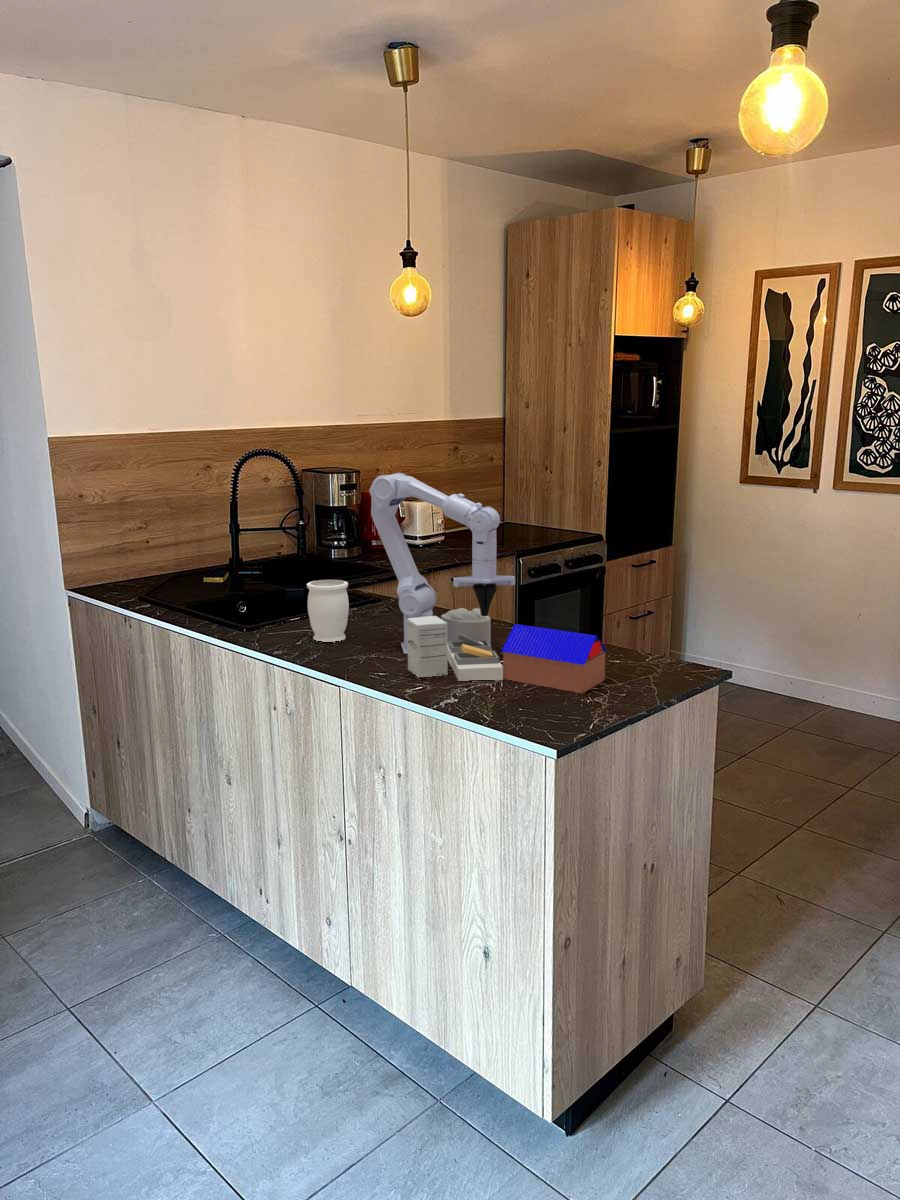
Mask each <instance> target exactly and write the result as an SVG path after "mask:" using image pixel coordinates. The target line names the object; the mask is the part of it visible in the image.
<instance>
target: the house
mask: <svg viewBox="0 0 900 1200" xmlns="http://www.w3.org/2000/svg"><path fill="white" fill-rule="evenodd" d="M501 652H502V653H503V659H502V660H503V662H502V663H503V664H502V666H503V680H505V679H506V680H505V681H510V680H512V681H511V682H516V681H517V682H516V683H521V682H522V684H527V683H529V684H528V685H532V684H533V685H534V686H538V687H543V686H544V688H549V687H551V689H554V688H555V689H556V690H561V691H566V692H571V693H577V694H585V693H586V692H588V691H589V690H592V688H594V687H596V686H597V685H599V684H601V683H603V682H604V681H605V680H606V679H605V678H606V674H605V673H606V653H607V652H608V650H607V649H606V647H605V646H604V644H603V643H602V641H601V639H600V638H599V637H598V636H597V634H596V635H594V634H588V633H579V632H573V631H567V630H561V629H552V628H546V627H545V628H544V627H541V626H540V627H538V626H531V625H526V624H525V625H524V624H517V623H514V625H513V627H512V628H511V631H510V632H509V634H508V637H507V639H506V641H505V643H504V645H503V647H502V649H501Z"/></svg>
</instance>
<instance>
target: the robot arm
mask: <svg viewBox="0 0 900 1200" xmlns="http://www.w3.org/2000/svg"><path fill="white" fill-rule="evenodd" d="M368 493H369V494H370V497H371V498H370V499H371V503H370V504H371V506H370V507H371V508H370V515H371V516H370V517H371V518H372V521H373V523H374V525H375V528H376V530H377V533H378V536H379V538H380V540H381V542H382V545H383V547H384V549H385V552H386V554H387V557H388V560H389V561H390V564H391V567H392V569H393V571H394V574H395V576H396V578H397V581H398V585H397V588H396V594H397V595H398V607H399V610H400V612H401V613H402V614H403V642H400V645H401V648H402V651H403V654H405V655H408V631H407V619H408V618H416V617H426V616H434V613H433V608H435V606H436V604H437V601H438V597H437V593H436V590H435V589H434V588H432V587H431V585H430V584H429V583H428V580H427V578H425V576H423V575H421V574H420V572H419V570H418V567H417V566H416V564H415V563H416V562H415V561H414V558H413V556H412V553H411V551H410V548H409V545H408V543H407V541H406V539H405V537H404V534H403V532H402V529H401V526H400V524H399V522H398V519H397V517H396V513H397V511H398V508H399V506H400V505H401V503H402V502H403V501H404V500H405V499H406V498H411V497H413V498H416V499H418V500H421V501H423V502H425V503H428V504H431V505H432V506H435V507H438V508H440V509H441V510H442V512H443V515H444V516H445V517H447V518H449V519H451V520H453V521H455V522H458V523H459V524H462V525H464V526H466V527H468V528H469V530H470V531H471V533H472V542H471V543H472V544H471V547H472V549H471V550H472V551H471V555H472V556H471V557H472V560H471V561H472V562H471V564H472V565H471V566H472V567H471V569H472V571H471V574H472V575H469V576H460V577H453V587H454V588H459V587H472V590H473V592H474V594H475V597H476V600H477V603H478V607H479V609H480V612H481V615H482V616H489V612H490V611H489V610H490V607H491V603H492V601H493V598H494V596H495V595H496V593H497V586H515V585H516V577H515V576H514V575H497V543H498V542H497V528H498V527H499V525H500V523H501V518H500V517H501V516H500V514H499V512H498V511H497V510H496V509H495V508H493V507H492V506H484V507H483V504H482V503H481V502H473V501H472V500H469V499H468V498H465V494H463V493H458V494H457V493H453V494H451V495H447V494H445V493H443V492H441V491H439V490H438V489H436V488H434V487H432V486H430V485H428V484H426V483H425V482H422V481H421V480H418V479H417V478H415V477H413V476H410V475H406V474H405V473H402V472H396V473H393V474H386V475H385V474H383V475H378V476H376V478H375V479H374V480H373V481H372V483H371V486H370V488H369V490H368Z"/></svg>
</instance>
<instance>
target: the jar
mask: <svg viewBox="0 0 900 1200" xmlns="http://www.w3.org/2000/svg"><path fill="white" fill-rule="evenodd" d="M348 587H349V582H348V581H345V580H342V579H319V580H312V581H309V582H308V583H306V588H307V589H308V590H309V591H308V594H307V613H308V618H309V623H310V627H311V630H312V631H313V633H314V635H313V637H312V639H314V640H316V641H315V642H317V641H322V642H333V643H336V642H335V641H339V642H341V640H342V641H344V640H346V638H347V637H346V634H345V633H344V632H345V631H346V628H347V625H348V617H349V611H350V605H349V604H350V603H349V595H348V590H347V589H348ZM314 640H313V641H314ZM322 642H321V643H322Z"/></svg>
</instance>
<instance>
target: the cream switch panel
mask: <svg viewBox="0 0 900 1200" xmlns="http://www.w3.org/2000/svg"><path fill="white" fill-rule="evenodd" d="M478 641H481V642H483V643H484V645H485V646H473V645H471V644H469V643H466V642H464V641H448V643H447V655H448V662H449V663H448V664H449V665H450V667H452V668H451V670H452V669H453V670H452V672H453V671H454V672H453V674H454V673H455V674H454V676H455V675H456V676H455V678H456V677H457V678H456V680H457V679H458V680H457V682H458V681H469V680H494V681H503V680H504V679H503V664H501V663H502V662H500V656H499V655H498V653H497V652H496V651H495V650H493V649H492V645H490V643H489V642H488V640H478ZM462 644H465V645H469V646H472V647H476V648H480V649H483V650H487V651H491V652H492V654H493V657H486V658H483V657H480V656H476V655H472V654H469V653H465V652H463V651H462V649H461V645H462Z"/></svg>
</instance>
